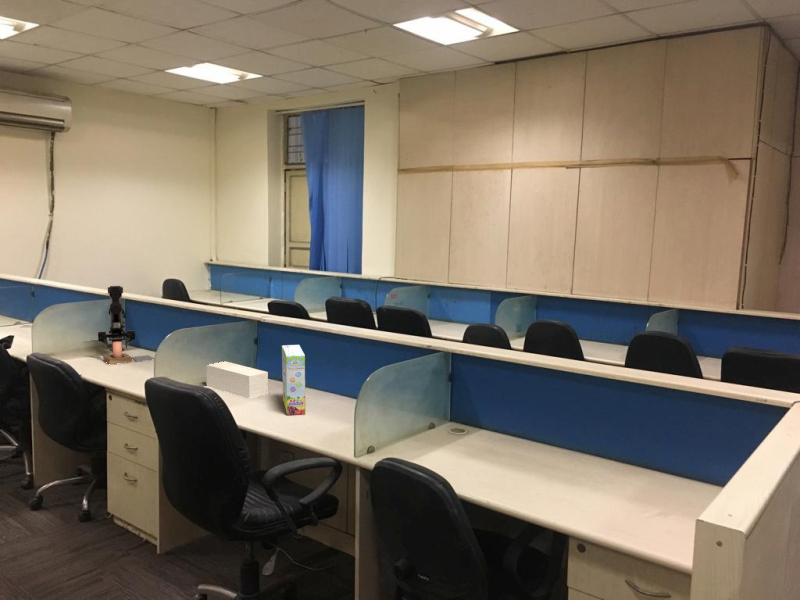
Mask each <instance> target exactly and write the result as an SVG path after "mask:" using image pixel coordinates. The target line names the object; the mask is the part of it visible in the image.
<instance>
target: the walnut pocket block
mask: <svg viewBox="0 0 800 600" xmlns="http://www.w3.org/2000/svg"><path fill="white" fill-rule="evenodd" d="M102 356H103V357H102V359H103V362H104V361H105V362H104V363H106V362H107V363H108V365H109V364H114V365H118V364H117V363H123V364H127V363H126V362H131V363H132V362H133V360H132V357H133V356H130V355H128V353H126V352H125V353H122V357H119V358H113V354H108V355H102ZM107 363H106V364H107Z"/></svg>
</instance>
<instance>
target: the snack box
mask: <svg viewBox="0 0 800 600" xmlns="http://www.w3.org/2000/svg"><path fill="white" fill-rule="evenodd" d="M281 362H282V364H281V365H282V369H281V371H282V372H281V373H282V401H283V405H284V409H285V412H286V413H285V414H286V416H303V415H304V416H305V415H306V355H305V353H304V351H303V349H302V347H301V345H300V344H287V345H286V344H285V345H281Z"/></svg>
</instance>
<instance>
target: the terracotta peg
mask: <svg viewBox="0 0 800 600" xmlns="http://www.w3.org/2000/svg"><path fill="white" fill-rule="evenodd" d="M122 348H123V341H122V342H121V341H115V342H113V351H112V355H113V358H119V357H122V354H123V350H122Z"/></svg>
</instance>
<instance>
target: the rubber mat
mask: <svg viewBox="0 0 800 600" xmlns="http://www.w3.org/2000/svg"><path fill="white" fill-rule="evenodd" d="M131 357H132V359H133V360H135V361H140V362H144V361H143V360H149V361H153V360H152V359H154V360H155V358H154V357H153V356H150V355H148V354H146V355H137V356H131ZM133 360H132V361H133ZM135 361H134V362H135Z"/></svg>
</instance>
